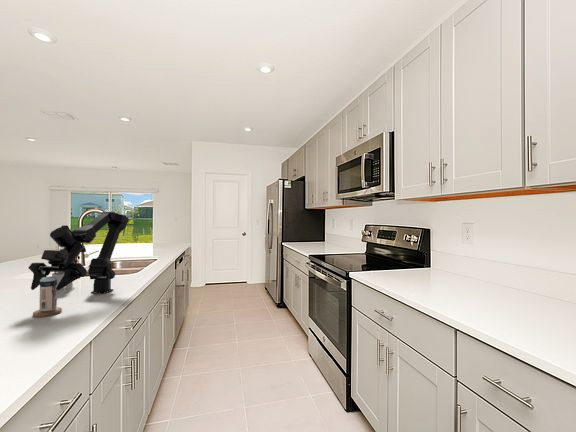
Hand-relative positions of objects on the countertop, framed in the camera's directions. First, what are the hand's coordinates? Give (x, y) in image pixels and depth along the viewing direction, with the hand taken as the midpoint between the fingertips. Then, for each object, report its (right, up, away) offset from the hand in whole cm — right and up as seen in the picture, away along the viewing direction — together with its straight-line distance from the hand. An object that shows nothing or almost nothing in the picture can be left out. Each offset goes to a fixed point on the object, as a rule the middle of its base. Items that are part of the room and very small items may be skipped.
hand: (44, 289), depth 102 cm
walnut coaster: (0, -9, +1) cm, 9 cm away
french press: (-19, -9, +33) cm, 39 cm away
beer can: (0, -8, +2) cm, 8 cm away
